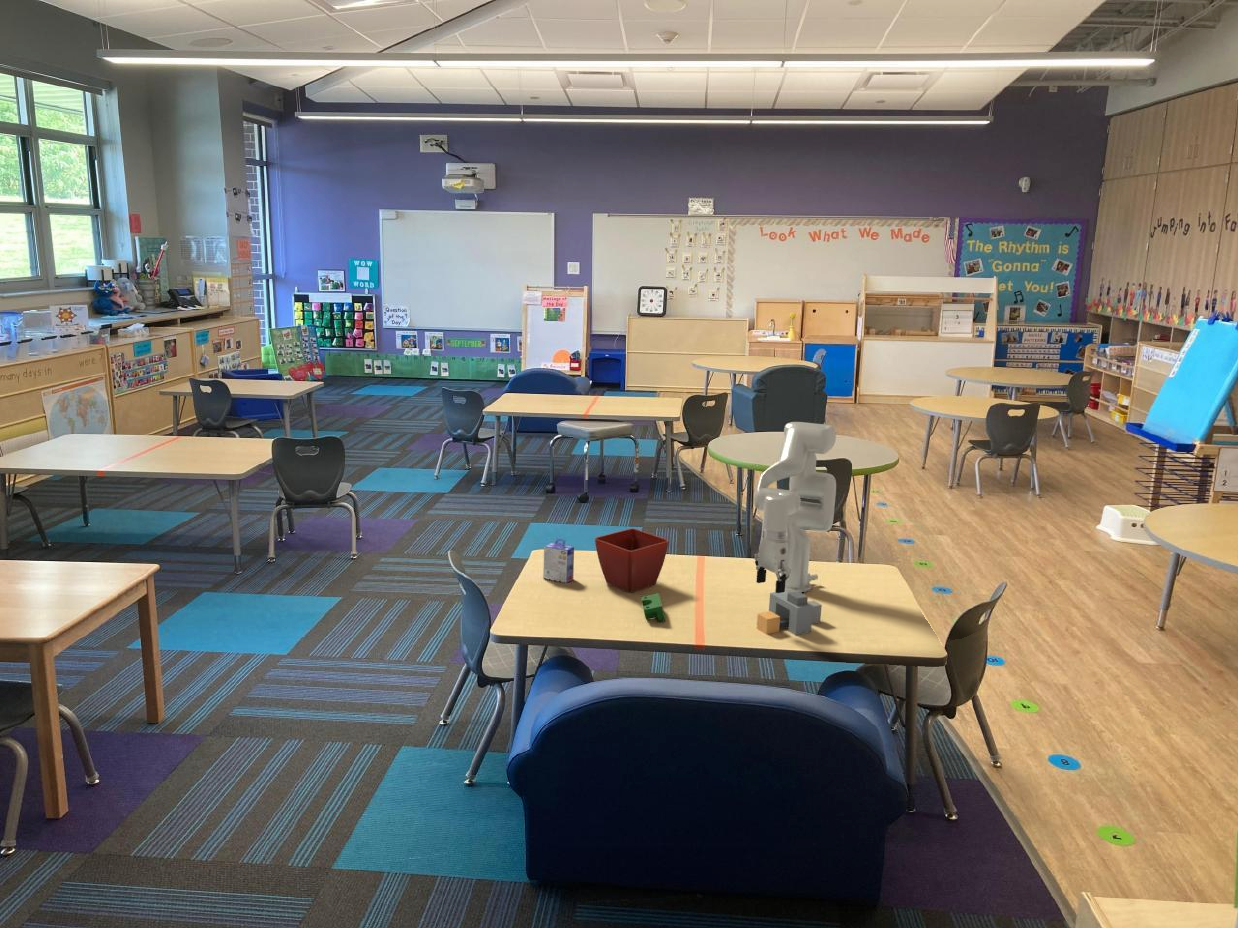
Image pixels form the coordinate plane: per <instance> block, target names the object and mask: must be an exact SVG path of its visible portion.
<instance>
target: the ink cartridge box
mask: <svg viewBox="0 0 1238 928" xmlns="http://www.w3.org/2000/svg"><path fill="white" fill-rule="evenodd" d="M560 542H561V543H560ZM565 544H566V539H562V538H556V540H555V543H553V542H551V543H548V544H547V545H545V546H544V547H543V569H542V570H543V576H542V577H543V579H544V578H546V579H545V580H549V579H550V580H549V581H554V580H556V581H555V582H559V581H561V582H560V583H564V582H565V583H564V584H567V583H569V582H570V580H571V581H573V580H574V572H575V571H574V569H575V568H574V563H575V546H570V545H565ZM572 579H573V580H572Z"/></svg>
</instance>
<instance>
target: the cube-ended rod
mask: <svg viewBox="0 0 1238 928" xmlns="http://www.w3.org/2000/svg"><path fill="white" fill-rule="evenodd" d="M807 602H808V603H810V604H811V605H813V609H812V621H811V625H813V624H812V623H814V624H817V623H816V622H819V623H821V618H822V604H821V603H819V602H817V601H815V600H810V601H807ZM756 617H757V621H756V629H757V630H758V631H760V632H762V633H763V634H765V635H769V634H774V633H779V632H780V630H781V629H786V627H787V628H789V618H788V619H783V620H780V616H778V615H776V614H775V613H773V612H771V611H769V610H768V611H763V612H759V613H757V616H756Z"/></svg>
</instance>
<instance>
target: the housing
mask: <svg viewBox="0 0 1238 928" xmlns="http://www.w3.org/2000/svg"><path fill="white" fill-rule="evenodd" d="M808 599H809V597H808V596H807V594H806V595H805V594H803V593H800V592H798V591H796V592H787V591H785V592H782V593H776V592H775V591H774V592H770V593H769V604H768V611H771V612H773V613H775V614H776V615H778V616H780V620H783V619H788V618H789V627H788V632H789V633H790V634H793V635H795V636H798V635H802V634H803V633H804V634H808V633H811V632H812V624H811V621H812V609H813V605H811V604H810V603H808V602H809V601H808ZM807 632H808V633H807ZM804 634H803V635H804Z"/></svg>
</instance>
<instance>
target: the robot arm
mask: <svg viewBox="0 0 1238 928" xmlns="http://www.w3.org/2000/svg"><path fill="white" fill-rule="evenodd" d="M783 436H784V438H783V442H782V446H781V448H780V452H779V457H778V461H776V462H775V463H772V465H770V466H769V467H767V469H766V470H764V471H763V472H762V473H761V475H760V477H759V478H758V481H757V485H756V488H755V492H754V496H753V504H754V507H755V509H756V510H758V511H761V512H763V514H762V515H763V517H762V529H761V531H762V532H761V538H760V543H759V547H758V552H756V553H754V554H753V556H754V557H753V558H754V563H755V566H756V567H755V568H756V569H755V570H757V571H756V583H757V584H760V583H765V582H766V580H767V570H768V571H769V572H771V573H773V574H775V576H776V579H777V580H776V581H775V582H774V583H775V591H774V592H776V593H782V592H785V591H787V592H789V593H791V592H796V591H798V592H800V593H802V592H804V593H808V592H809V591H811V590H812V584H811V583H810V582H811V581H816V580H819V575H818V574H811V573H809V565H810V564H809V563H810V554H811V553H810V552H811V538H810V536H809V534H808V533H807V531H808V530H810V531H815V532H829V531H830V530H831V529H832V528H833V527H832V526H833V523H834V517H835V508H836V507H835V505H836V495H837V481H836V478H835V476H834V475H833V474H831V473H827V472H821V471H820V472H819V471H817V469H816V468H817V467H816V466H817V460H818V459H817V455H816V454H819V455H826V454H827V453H828V452H830V450H832V449H833V447H834V445H835V443H836V439H837V432H836V429H835V427H834V426H833V425H829V424H825V423H824V424H823V423H822V424H821V423H815V422H814V423H813V422H805V421H804V422H803V421H791V422H787V423H786V424H785V425H784V428H783ZM784 479H789V482H788V484H789V485H788V486H789V489H782V488H774V487H769V486H771V485H772V484H774V483H775V482H778V481H781V480H784ZM801 498H802V499H809V500H810V499H811V500H815V501H816V500H818V501H819V502H820V503H818V502H810V501H805V500H804V501H803V500H802V499H801ZM806 530H807V531H806ZM807 591H808V592H807ZM802 594H803V593H802Z"/></svg>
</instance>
